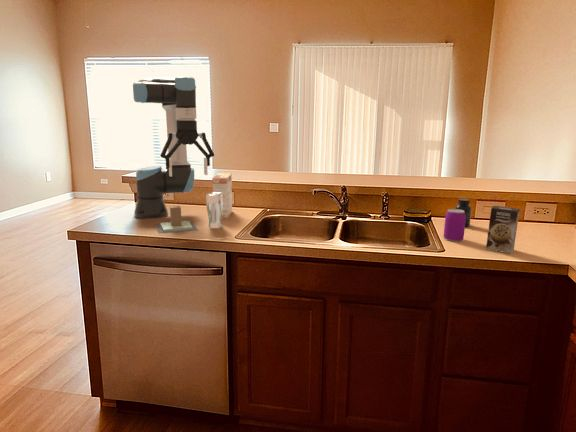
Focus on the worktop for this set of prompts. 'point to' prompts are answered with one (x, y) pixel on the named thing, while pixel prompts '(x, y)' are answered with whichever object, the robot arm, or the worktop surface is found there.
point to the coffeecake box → (224, 191)
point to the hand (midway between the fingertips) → (188, 175)
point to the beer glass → (214, 209)
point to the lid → (176, 221)
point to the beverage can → (454, 225)
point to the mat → (174, 231)
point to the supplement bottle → (465, 209)
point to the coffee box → (502, 228)
